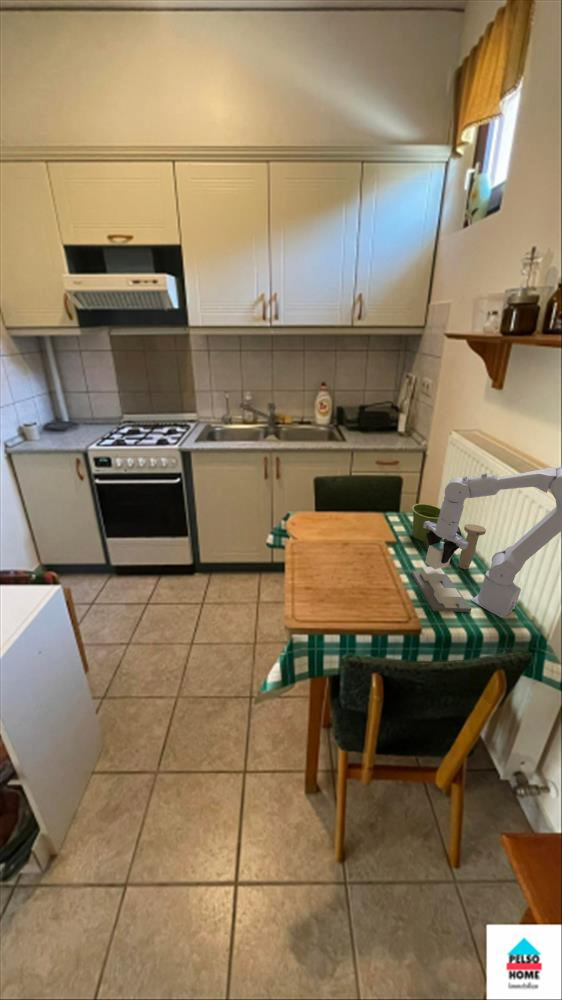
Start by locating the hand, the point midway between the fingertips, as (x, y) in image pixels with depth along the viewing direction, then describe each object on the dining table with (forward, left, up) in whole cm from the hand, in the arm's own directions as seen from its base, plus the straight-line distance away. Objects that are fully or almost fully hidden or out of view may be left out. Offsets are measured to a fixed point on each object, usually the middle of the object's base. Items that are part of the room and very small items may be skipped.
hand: (438, 558), depth 127 cm
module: (0, 0, -2) cm, 2 cm away
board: (-4, +2, -9) cm, 10 cm away
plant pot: (+19, -24, -9) cm, 32 cm away
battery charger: (+6, -20, -9) cm, 23 cm away
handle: (-1, -18, -9) cm, 20 cm away
